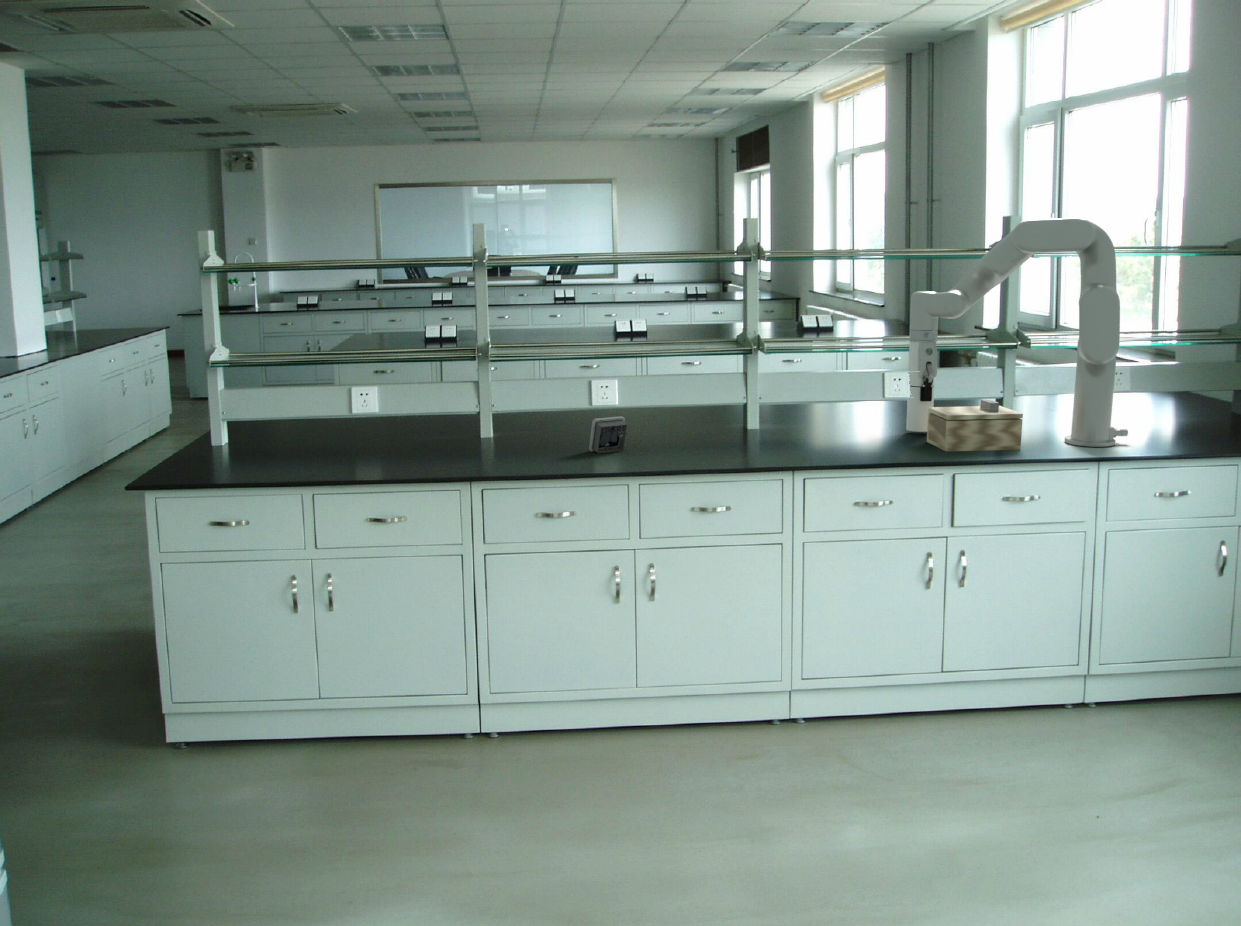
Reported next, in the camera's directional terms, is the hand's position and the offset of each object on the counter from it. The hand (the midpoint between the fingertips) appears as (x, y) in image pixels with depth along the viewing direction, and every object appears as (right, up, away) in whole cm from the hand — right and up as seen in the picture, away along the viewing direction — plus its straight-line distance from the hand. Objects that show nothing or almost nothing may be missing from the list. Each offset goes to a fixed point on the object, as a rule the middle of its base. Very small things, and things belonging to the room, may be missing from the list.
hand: (920, 398), depth 302 cm
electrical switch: (-88, -15, -18) cm, 91 cm away
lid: (+9, -5, -18) cm, 21 cm away
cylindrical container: (0, -9, +2) cm, 9 cm away
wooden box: (+9, -13, -16) cm, 23 cm away
